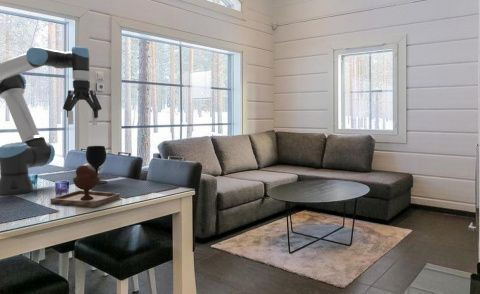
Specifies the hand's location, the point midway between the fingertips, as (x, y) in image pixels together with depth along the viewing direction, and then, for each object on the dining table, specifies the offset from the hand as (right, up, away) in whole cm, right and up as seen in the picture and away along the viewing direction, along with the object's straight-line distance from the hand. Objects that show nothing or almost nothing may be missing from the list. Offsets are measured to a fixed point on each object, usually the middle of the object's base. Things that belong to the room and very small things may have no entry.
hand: (82, 124), depth 181 cm
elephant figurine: (-12, -29, +37) cm, 49 cm away
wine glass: (-2, -31, +25) cm, 39 cm away
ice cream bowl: (+9, -34, -16) cm, 38 cm away
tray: (+9, -35, -16) cm, 39 cm away
